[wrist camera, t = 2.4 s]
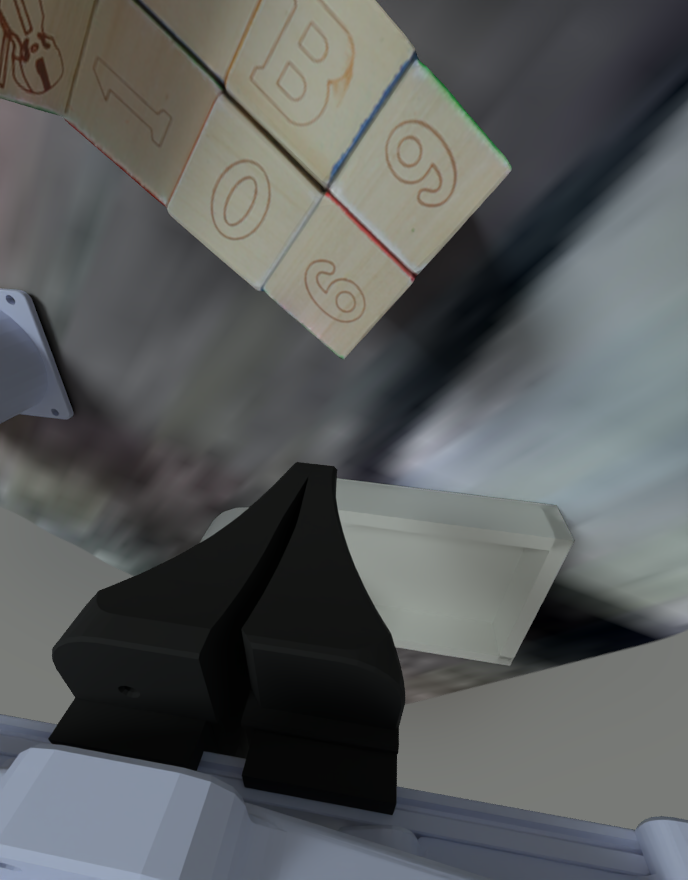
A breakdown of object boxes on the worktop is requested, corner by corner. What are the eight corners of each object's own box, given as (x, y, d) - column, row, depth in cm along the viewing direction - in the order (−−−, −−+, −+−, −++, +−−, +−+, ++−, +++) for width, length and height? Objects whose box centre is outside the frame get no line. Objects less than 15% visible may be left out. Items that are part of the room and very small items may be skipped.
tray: (318, 599, 32) (310, 633, 29) (320, 476, 25) (311, 506, 23) (501, 627, 31) (509, 665, 28) (556, 505, 24) (574, 540, 21)
